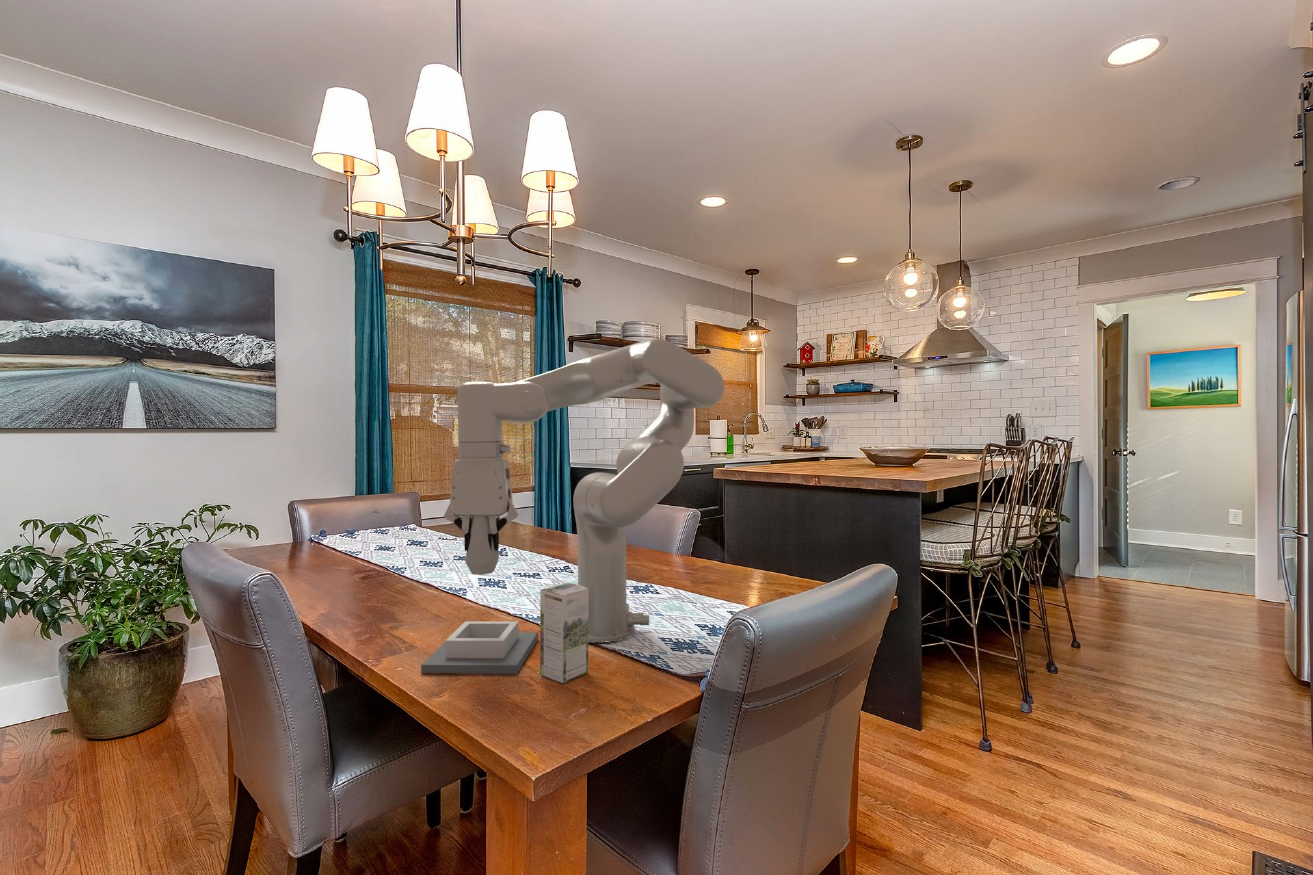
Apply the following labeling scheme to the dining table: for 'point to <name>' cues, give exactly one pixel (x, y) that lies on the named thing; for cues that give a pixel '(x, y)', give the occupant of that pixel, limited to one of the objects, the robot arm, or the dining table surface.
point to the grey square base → (482, 649)
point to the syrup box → (564, 632)
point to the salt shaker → (481, 548)
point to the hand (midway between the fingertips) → (481, 554)
